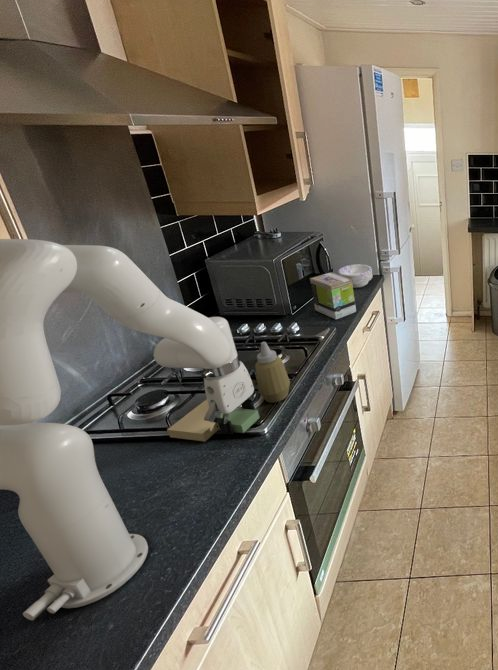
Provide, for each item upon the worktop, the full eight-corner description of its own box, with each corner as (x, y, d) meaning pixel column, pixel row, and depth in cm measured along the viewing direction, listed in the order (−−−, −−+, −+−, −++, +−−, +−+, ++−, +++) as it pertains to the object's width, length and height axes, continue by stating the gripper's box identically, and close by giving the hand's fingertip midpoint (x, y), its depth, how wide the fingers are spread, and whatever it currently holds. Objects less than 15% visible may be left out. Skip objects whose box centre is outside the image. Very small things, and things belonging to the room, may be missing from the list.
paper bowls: (371, 289, 195) (369, 273, 192) (337, 291, 192) (334, 275, 189) (375, 277, 208) (373, 263, 205) (343, 279, 206) (341, 264, 203)
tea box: (357, 311, 172) (352, 278, 167) (335, 320, 165) (329, 286, 159) (336, 302, 181) (330, 271, 175) (314, 310, 173) (308, 277, 167)
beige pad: (205, 441, 104) (202, 433, 103) (169, 437, 105) (166, 429, 104) (245, 405, 116) (243, 398, 115) (214, 402, 118) (211, 395, 117)
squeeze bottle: (279, 407, 116) (265, 352, 109) (254, 403, 117) (238, 348, 110) (298, 390, 123) (286, 337, 116) (274, 386, 125) (261, 334, 118)
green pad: (243, 433, 106) (241, 425, 105) (210, 429, 108) (207, 421, 107) (259, 417, 112) (257, 410, 111) (227, 414, 113) (225, 406, 112)
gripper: (206, 388, 94) (226, 448, 101) (259, 348, 110) (274, 403, 117) (177, 385, 95) (199, 445, 102) (234, 346, 111) (250, 400, 118)
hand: (239, 422), depth 109 cm, fingers open, 7 cm apart
